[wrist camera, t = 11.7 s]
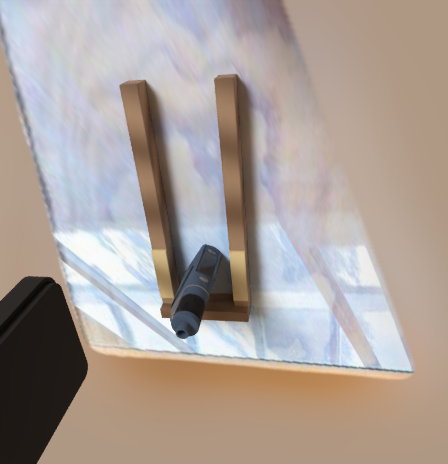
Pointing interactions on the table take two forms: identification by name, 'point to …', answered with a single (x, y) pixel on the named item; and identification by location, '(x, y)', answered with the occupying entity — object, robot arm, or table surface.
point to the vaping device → (194, 292)
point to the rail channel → (155, 206)
